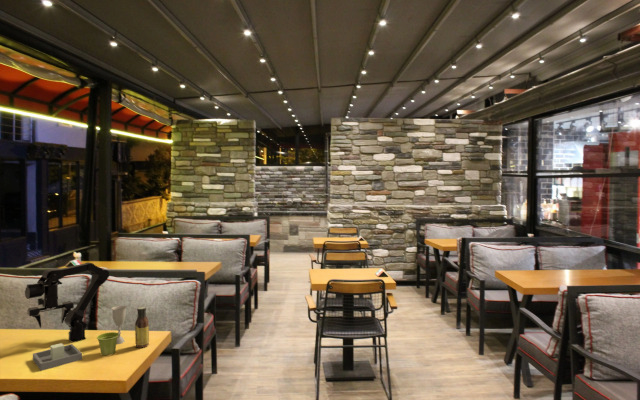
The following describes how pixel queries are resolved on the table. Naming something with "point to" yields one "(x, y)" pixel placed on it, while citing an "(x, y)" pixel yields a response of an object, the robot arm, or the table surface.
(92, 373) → the table surface
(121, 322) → the chalice
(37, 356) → the tray
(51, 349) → the sage block
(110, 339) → the plant pot
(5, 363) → the table surface
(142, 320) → the sauce bottle
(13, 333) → the table surface
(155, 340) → the table surface
